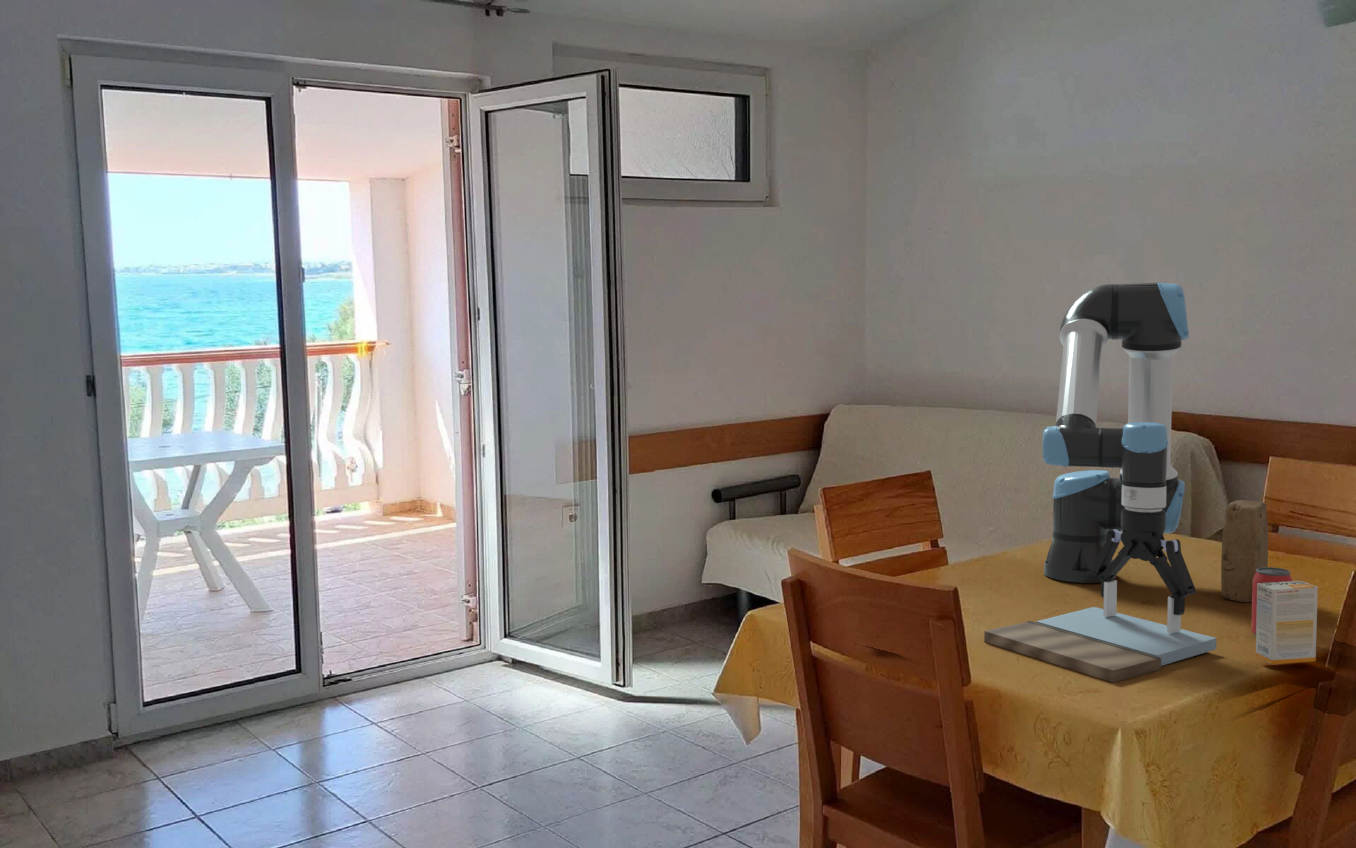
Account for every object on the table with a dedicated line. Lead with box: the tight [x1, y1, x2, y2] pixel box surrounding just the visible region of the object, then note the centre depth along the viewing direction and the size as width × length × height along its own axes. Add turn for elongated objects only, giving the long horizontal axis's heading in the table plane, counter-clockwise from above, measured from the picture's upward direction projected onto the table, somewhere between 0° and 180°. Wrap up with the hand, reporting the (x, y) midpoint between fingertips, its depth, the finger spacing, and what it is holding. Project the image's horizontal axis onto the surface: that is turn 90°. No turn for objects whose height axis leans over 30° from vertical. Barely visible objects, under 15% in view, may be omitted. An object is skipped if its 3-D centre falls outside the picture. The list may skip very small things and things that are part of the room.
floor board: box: [983, 620, 1162, 683], centre depth 203 cm, size 28×12×2 cm, turn 31°
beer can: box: [1250, 566, 1293, 636], centre depth 213 cm, size 7×7×12 cm
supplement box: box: [1255, 580, 1319, 665], centre depth 198 cm, size 8×5×13 cm, turn 97°
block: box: [1220, 499, 1269, 603], centre depth 240 cm, size 11×8×20 cm
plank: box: [1035, 606, 1217, 667], centre depth 210 cm, size 26×16×2 cm, turn 31°
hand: (1141, 623), depth 213 cm, fingers open, 13 cm apart
